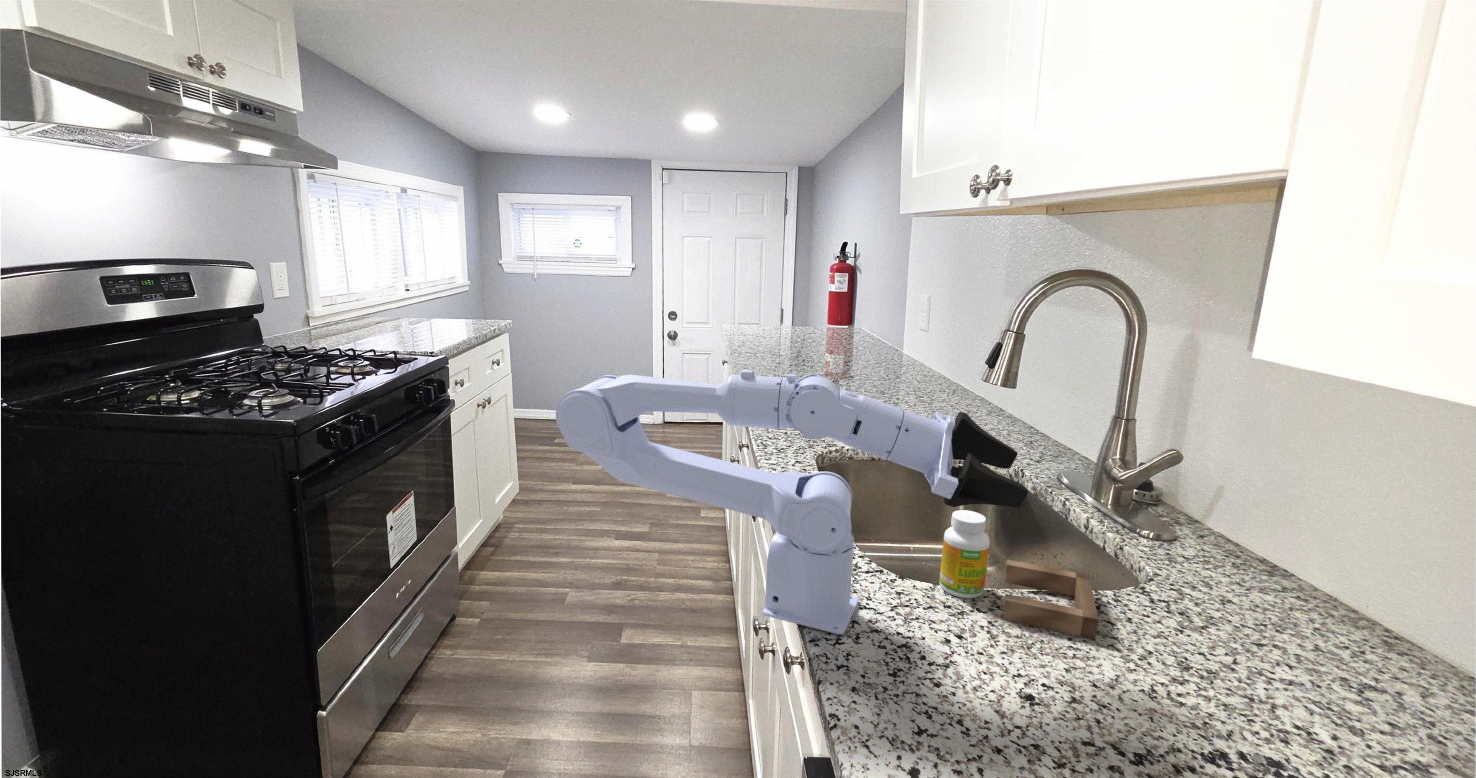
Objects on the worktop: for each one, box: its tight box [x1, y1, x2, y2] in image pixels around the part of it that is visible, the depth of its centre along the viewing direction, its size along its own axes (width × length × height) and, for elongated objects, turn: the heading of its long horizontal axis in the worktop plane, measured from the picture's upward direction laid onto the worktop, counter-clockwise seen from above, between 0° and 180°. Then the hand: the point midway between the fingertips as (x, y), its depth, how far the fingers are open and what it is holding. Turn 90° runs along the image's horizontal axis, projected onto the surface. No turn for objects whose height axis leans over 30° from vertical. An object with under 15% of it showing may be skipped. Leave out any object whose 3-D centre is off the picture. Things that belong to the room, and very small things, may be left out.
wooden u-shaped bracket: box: [1002, 559, 1099, 641], centre depth 78 cm, size 10×11×2 cm
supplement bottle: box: [939, 509, 991, 599], centre depth 81 cm, size 5×5×10 cm
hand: (1018, 478), depth 69 cm, fingers open, 7 cm apart
